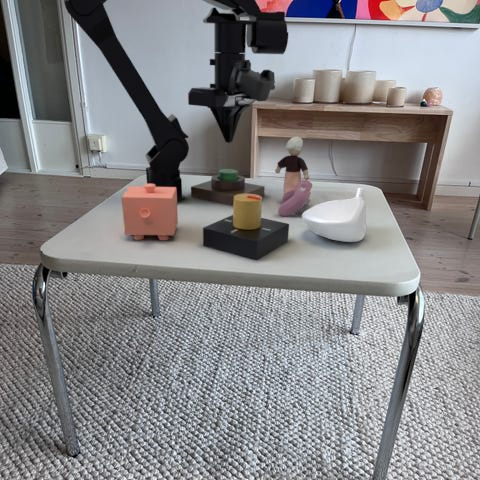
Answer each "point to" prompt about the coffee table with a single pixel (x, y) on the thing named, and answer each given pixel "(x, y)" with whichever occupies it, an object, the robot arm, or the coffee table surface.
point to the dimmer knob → (247, 211)
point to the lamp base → (225, 190)
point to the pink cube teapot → (150, 211)
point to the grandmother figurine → (293, 165)
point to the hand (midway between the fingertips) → (228, 142)
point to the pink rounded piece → (296, 198)
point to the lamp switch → (228, 174)
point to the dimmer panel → (245, 237)
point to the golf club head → (339, 218)
